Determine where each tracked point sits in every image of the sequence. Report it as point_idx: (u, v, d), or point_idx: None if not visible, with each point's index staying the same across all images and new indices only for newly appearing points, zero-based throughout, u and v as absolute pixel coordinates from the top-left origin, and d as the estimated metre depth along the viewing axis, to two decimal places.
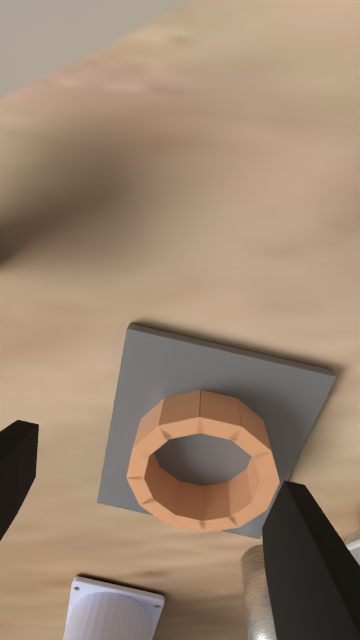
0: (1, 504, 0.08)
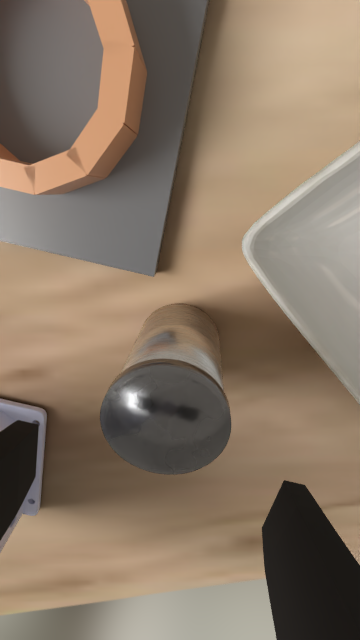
0: (1, 504, 0.08)
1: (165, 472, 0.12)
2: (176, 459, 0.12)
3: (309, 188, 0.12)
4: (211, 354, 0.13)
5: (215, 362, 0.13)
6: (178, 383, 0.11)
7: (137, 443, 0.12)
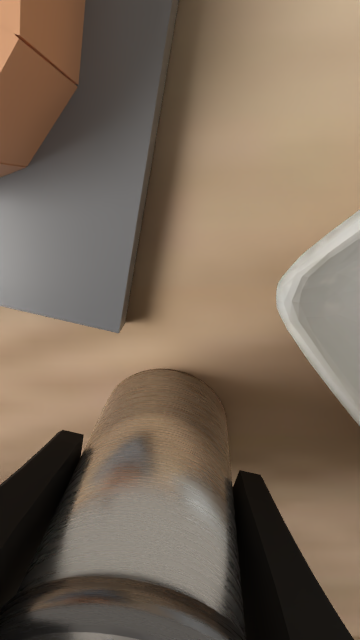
0: (52, 515, 0.08)
1: None
2: None
3: None
4: (217, 501, 0.07)
5: (223, 520, 0.07)
6: None
7: None
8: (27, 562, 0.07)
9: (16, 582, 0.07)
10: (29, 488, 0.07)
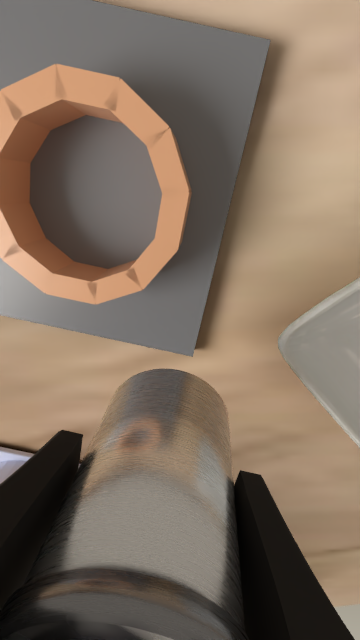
0: (51, 515, 0.08)
1: None
2: None
3: (339, 299, 0.14)
4: (215, 496, 0.07)
5: (222, 514, 0.07)
6: None
7: None
8: (26, 562, 0.07)
9: (15, 582, 0.07)
10: (28, 488, 0.07)
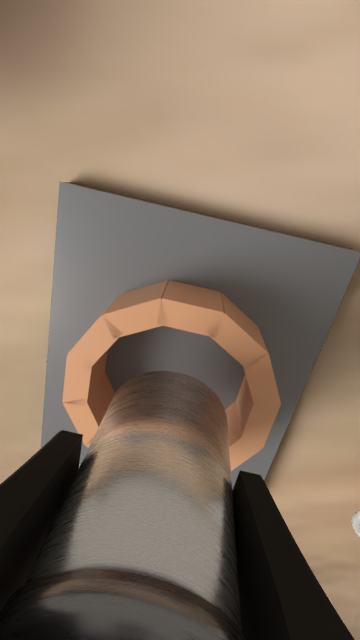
0: (52, 515, 0.08)
1: None
2: None
3: None
4: (208, 493, 0.07)
5: (215, 511, 0.07)
6: None
7: None
8: (27, 562, 0.07)
9: (16, 582, 0.07)
10: (29, 488, 0.07)
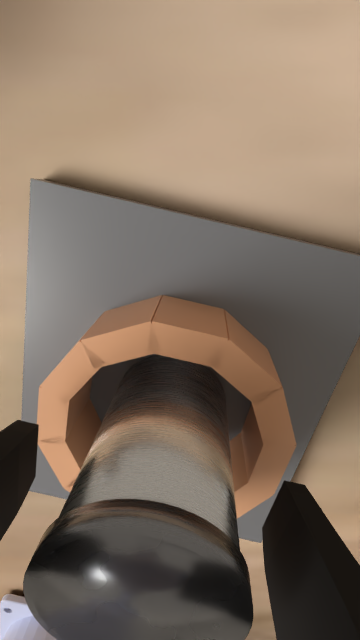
0: (1, 504, 0.08)
1: None
2: None
3: None
4: (211, 450, 0.08)
5: (217, 465, 0.08)
6: (146, 550, 0.06)
7: (96, 633, 0.07)
8: None
9: None
10: None
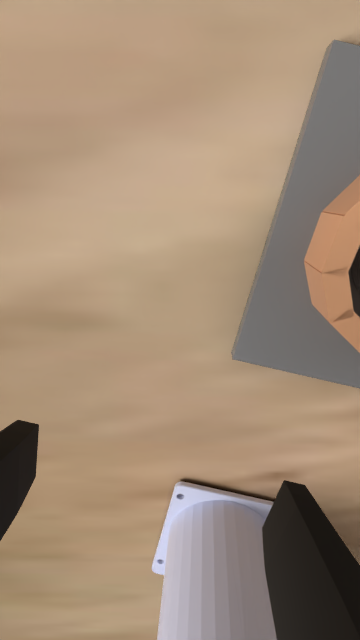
0: (1, 504, 0.08)
1: None
2: None
3: None
4: None
5: None
6: None
7: None
8: None
9: None
10: None
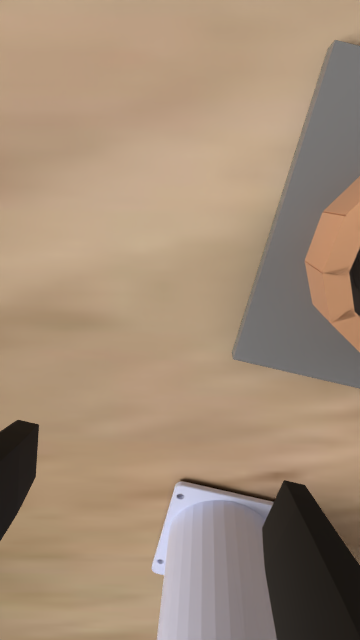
0: (1, 504, 0.08)
1: None
2: None
3: None
4: None
5: None
6: None
7: None
8: None
9: None
10: None
